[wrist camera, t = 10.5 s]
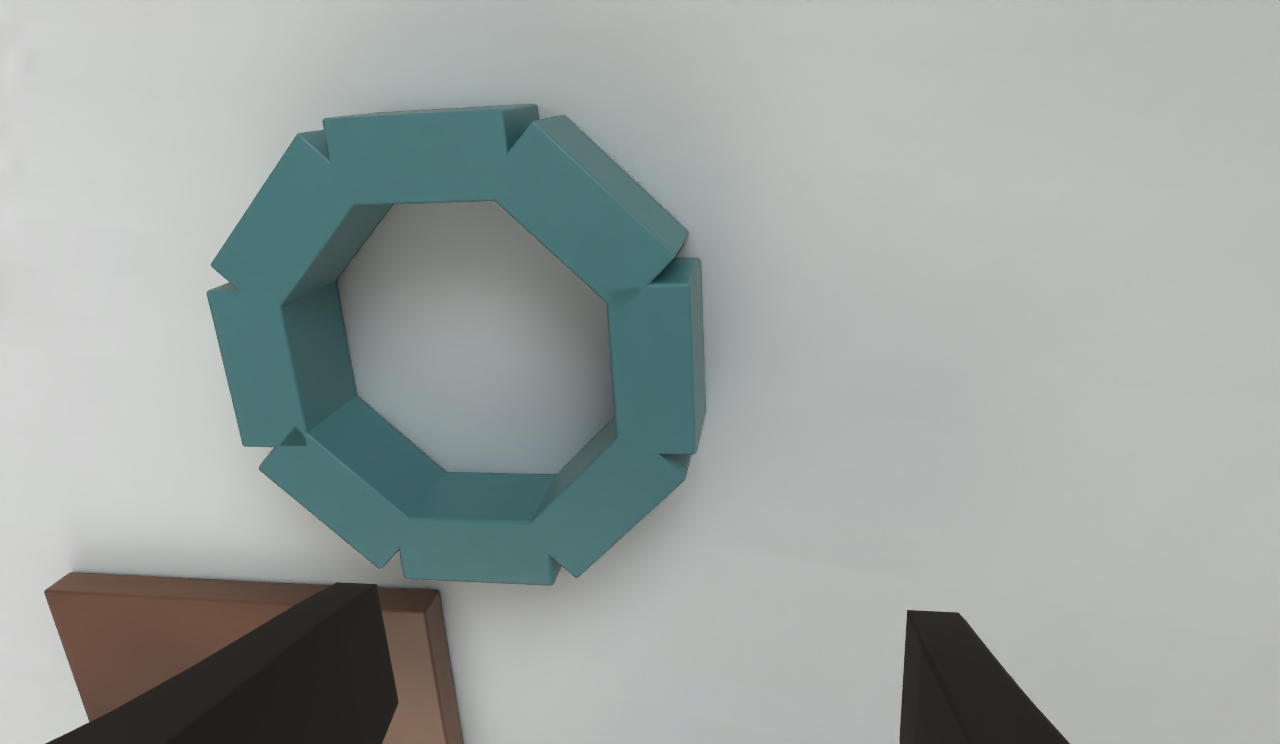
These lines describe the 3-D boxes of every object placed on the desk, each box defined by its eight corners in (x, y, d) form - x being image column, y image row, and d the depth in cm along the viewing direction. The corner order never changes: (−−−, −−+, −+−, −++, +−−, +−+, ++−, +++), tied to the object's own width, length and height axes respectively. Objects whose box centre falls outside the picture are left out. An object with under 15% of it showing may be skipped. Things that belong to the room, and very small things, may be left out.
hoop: (710, 537, 21) (701, 594, 18) (323, 523, 22) (272, 574, 20) (696, 95, 17) (683, 98, 15) (238, 119, 19) (165, 127, 17)
